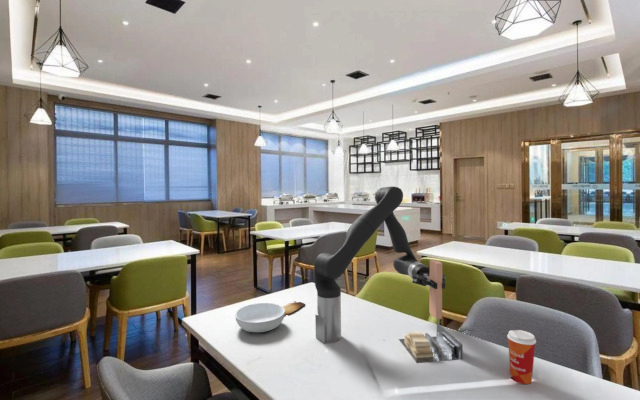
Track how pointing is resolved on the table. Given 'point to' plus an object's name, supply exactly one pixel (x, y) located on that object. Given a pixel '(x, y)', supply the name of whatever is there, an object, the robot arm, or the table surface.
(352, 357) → the table surface
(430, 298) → the pink rectangular bar
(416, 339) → the offcut stack
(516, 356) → the paper cup
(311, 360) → the table surface
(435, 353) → the rack
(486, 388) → the table surface
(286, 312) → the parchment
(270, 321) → the serving bowl
